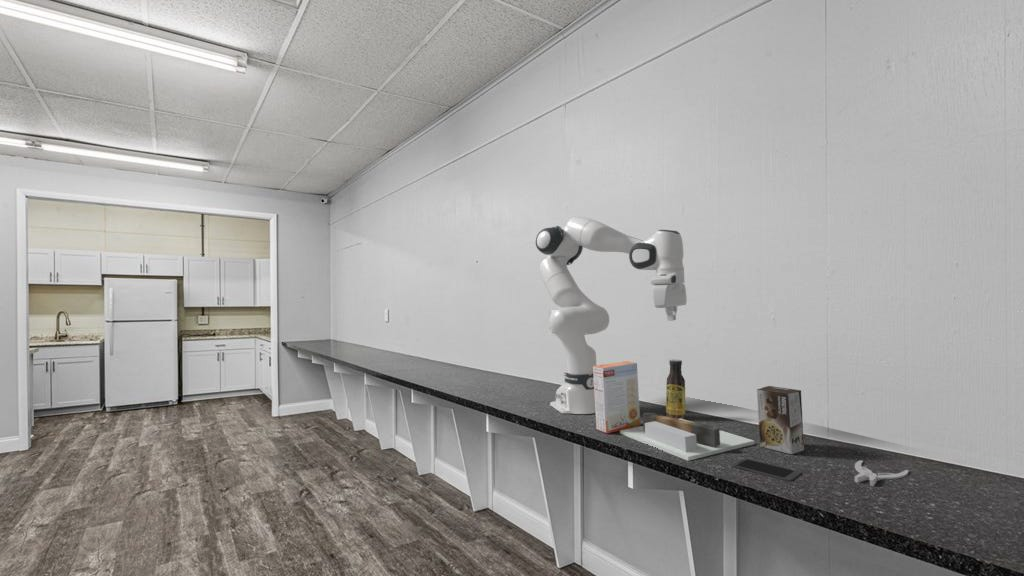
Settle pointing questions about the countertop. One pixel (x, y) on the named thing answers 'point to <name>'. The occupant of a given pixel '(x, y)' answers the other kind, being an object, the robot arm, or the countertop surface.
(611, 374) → the cracker box
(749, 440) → the press board
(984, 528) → the countertop surface
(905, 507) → the countertop surface
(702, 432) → the lever
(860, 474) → the pliers
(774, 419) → the coffee box
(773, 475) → the cell phone
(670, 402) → the sauce bottle
